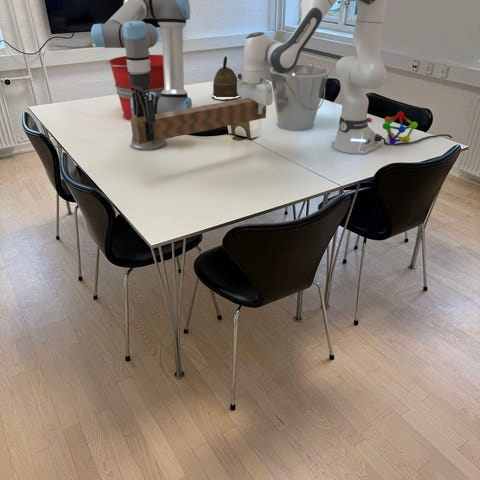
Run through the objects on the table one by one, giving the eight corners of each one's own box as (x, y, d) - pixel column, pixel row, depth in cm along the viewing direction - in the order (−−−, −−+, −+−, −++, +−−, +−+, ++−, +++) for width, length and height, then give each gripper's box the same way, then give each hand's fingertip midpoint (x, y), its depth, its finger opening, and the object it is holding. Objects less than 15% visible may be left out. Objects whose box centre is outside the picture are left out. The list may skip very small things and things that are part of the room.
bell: (227, 105, 294) (202, 96, 282) (238, 66, 289) (213, 55, 277) (243, 108, 280) (217, 98, 268) (255, 66, 275) (229, 55, 263)
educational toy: (377, 146, 209) (379, 114, 202) (384, 138, 219) (386, 107, 211) (411, 149, 202) (415, 116, 195) (417, 141, 212) (420, 109, 204)
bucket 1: (123, 106, 262) (116, 51, 247) (182, 106, 262) (178, 52, 246) (106, 123, 233) (97, 63, 217) (172, 124, 232) (168, 64, 216)
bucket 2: (296, 138, 215) (301, 78, 201) (255, 124, 234) (256, 68, 219) (335, 125, 232) (342, 70, 217) (294, 113, 251) (297, 61, 236)
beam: (139, 144, 159) (136, 122, 154) (133, 139, 162) (130, 118, 158) (265, 117, 186) (266, 98, 182) (257, 114, 190) (258, 95, 186)
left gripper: (162, 75, 145) (167, 143, 158) (138, 66, 158) (145, 129, 170) (140, 78, 142) (148, 147, 154) (118, 68, 154) (127, 133, 167)
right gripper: (277, 80, 172) (275, 116, 179) (246, 71, 186) (246, 105, 193) (264, 82, 169) (263, 118, 176) (234, 73, 183) (234, 107, 190)
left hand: (146, 138), depth 162 cm, fingers closed on beam, 6 cm apart
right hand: (254, 111), depth 185 cm, fingers closed on beam, 5 cm apart
